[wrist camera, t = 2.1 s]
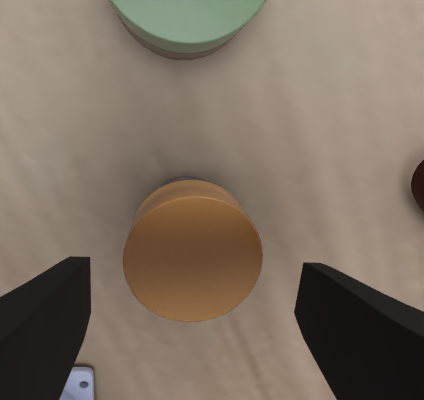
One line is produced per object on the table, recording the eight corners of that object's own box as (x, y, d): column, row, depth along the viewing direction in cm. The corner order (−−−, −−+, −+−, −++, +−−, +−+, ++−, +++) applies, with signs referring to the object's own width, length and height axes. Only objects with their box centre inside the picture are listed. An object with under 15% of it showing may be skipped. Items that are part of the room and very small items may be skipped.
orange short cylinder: (241, 288, 16) (253, 322, 14) (129, 287, 16) (121, 322, 13) (254, 182, 15) (271, 199, 12) (131, 175, 14) (123, 192, 12)
